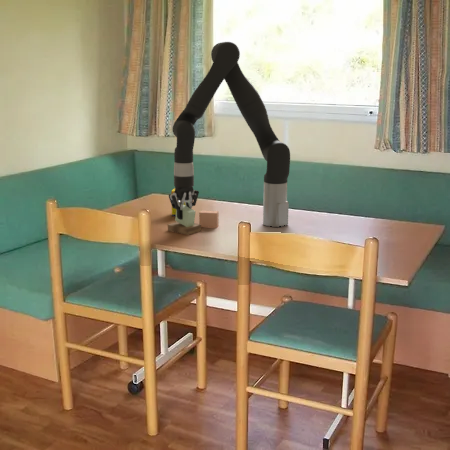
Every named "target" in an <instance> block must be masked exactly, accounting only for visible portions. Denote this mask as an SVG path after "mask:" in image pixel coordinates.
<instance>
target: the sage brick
mask: <svg viewBox="0 0 450 450" xmlns="http://www.w3.org/2000/svg"><path fill="white" fill-rule="evenodd" d="M179 207H180V206H179ZM182 210H183V219H182V220H180V219H178V218H177V209H176V216H174V217H175V218H174V221H175V222H179V223H180V224H182V225H184V226H186V227H190V226H194V223H195V219H196V218H195V217H196V210H195V209H192V208H189V207H187V206H185V205H183V209H182Z"/></svg>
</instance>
